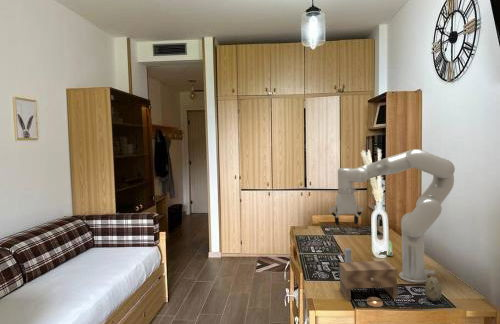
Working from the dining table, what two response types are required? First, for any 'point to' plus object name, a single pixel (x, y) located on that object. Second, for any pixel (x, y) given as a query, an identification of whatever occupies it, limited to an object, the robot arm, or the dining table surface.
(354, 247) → the dining table surface
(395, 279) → the wooden bridge block
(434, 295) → the decorative egg
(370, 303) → the copper token
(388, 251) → the frog
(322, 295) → the dining table surface
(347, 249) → the grey parking meter
